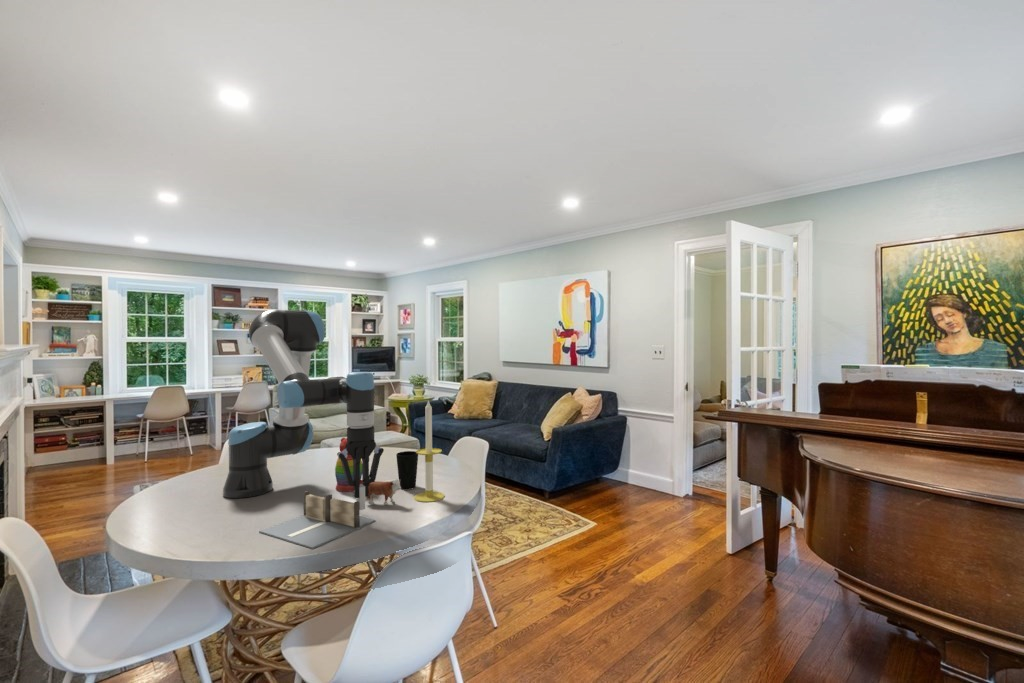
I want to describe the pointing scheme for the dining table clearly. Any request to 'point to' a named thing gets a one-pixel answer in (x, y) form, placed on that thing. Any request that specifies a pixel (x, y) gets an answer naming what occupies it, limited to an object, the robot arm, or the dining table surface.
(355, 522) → the fence hinged
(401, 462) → the cup
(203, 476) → the dining table surface
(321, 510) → the fence fixed
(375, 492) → the bull figurine
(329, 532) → the card
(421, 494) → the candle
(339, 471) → the stacking bear
